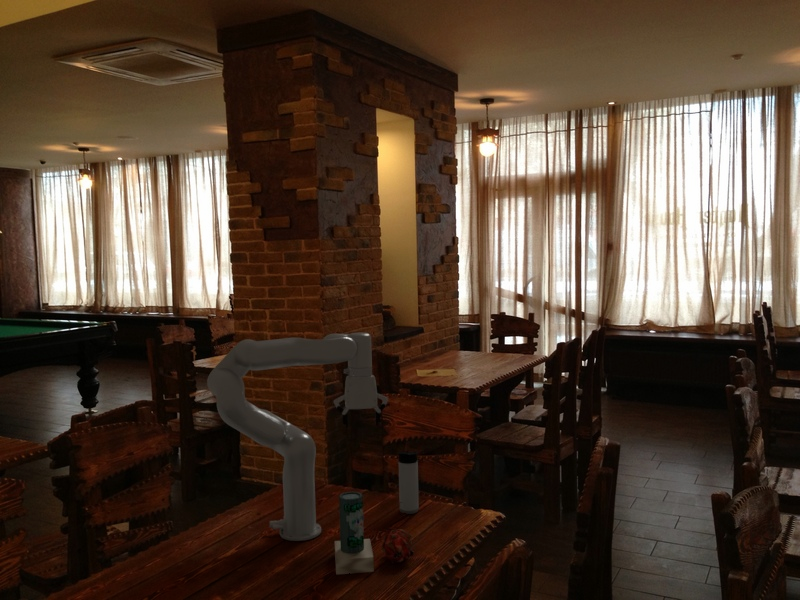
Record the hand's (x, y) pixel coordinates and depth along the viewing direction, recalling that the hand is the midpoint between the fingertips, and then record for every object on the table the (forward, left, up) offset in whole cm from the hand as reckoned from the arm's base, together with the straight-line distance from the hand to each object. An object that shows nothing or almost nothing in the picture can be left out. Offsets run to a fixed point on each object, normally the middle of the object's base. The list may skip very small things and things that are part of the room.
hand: (361, 425), depth 221 cm
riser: (-5, -31, -30) cm, 44 cm away
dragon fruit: (+7, -31, -31) cm, 44 cm away
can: (-5, -31, -26) cm, 41 cm away
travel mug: (+15, +4, -31) cm, 34 cm away
